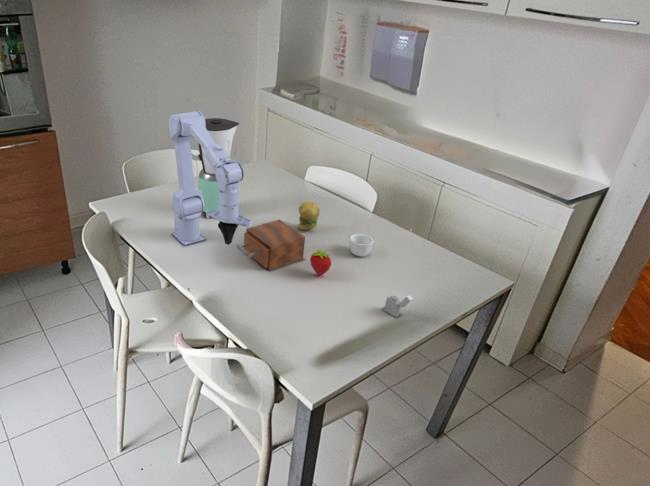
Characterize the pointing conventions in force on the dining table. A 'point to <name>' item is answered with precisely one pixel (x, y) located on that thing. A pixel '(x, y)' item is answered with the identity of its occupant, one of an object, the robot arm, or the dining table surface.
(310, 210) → the hamburger
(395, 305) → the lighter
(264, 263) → the drawer
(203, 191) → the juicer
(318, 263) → the strawberry
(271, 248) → the cabinet
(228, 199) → the robot arm
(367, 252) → the teacup
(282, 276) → the dining table surface
